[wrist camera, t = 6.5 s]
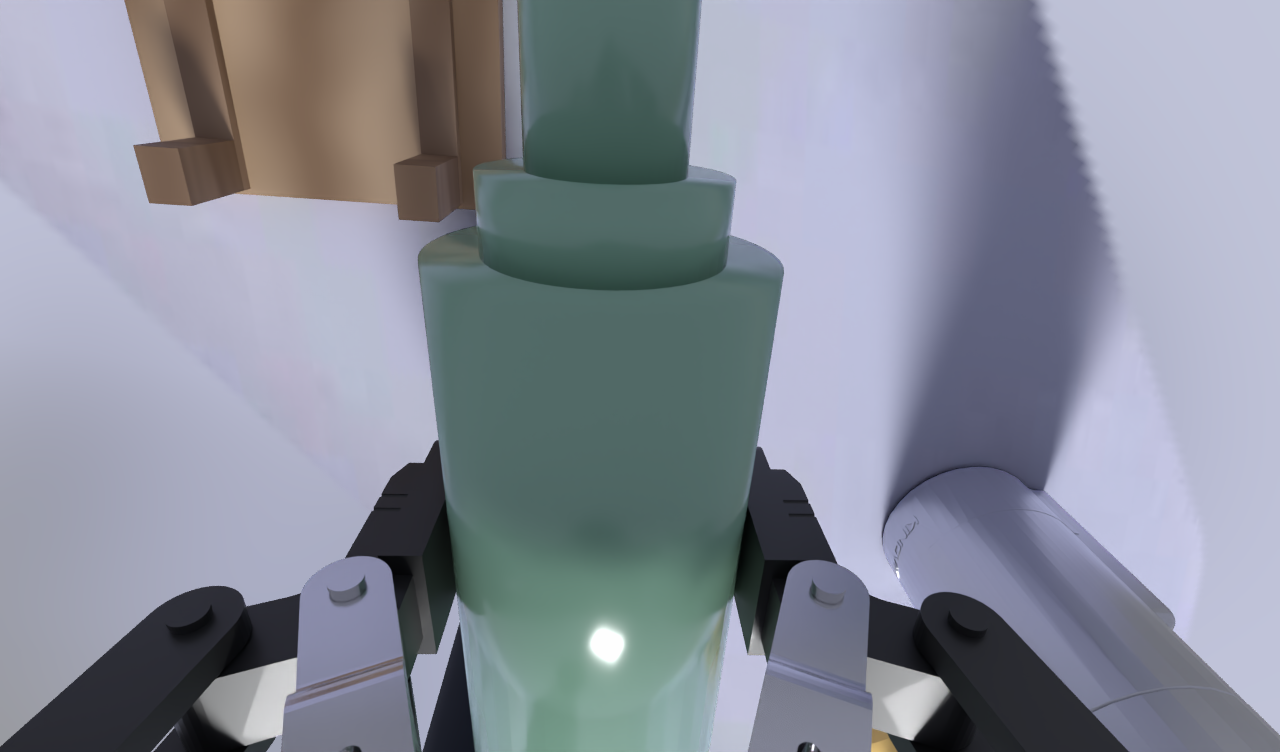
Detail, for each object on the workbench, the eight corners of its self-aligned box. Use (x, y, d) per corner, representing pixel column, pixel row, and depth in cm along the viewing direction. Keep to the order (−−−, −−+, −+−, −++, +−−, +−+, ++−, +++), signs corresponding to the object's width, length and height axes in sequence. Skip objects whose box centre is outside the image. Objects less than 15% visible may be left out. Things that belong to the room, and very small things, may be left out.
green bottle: (700, 622, 17) (725, 850, 12) (502, 616, 17) (442, 842, 12) (795, -120, 10) (960, -340, 5) (446, -140, 9) (229, -391, 4)
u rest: (500, -89, 23) (472, -131, 18) (507, 207, 28) (486, 231, 23) (111, -128, 22) (-20, -182, 17) (188, 185, 27) (101, 206, 22)
